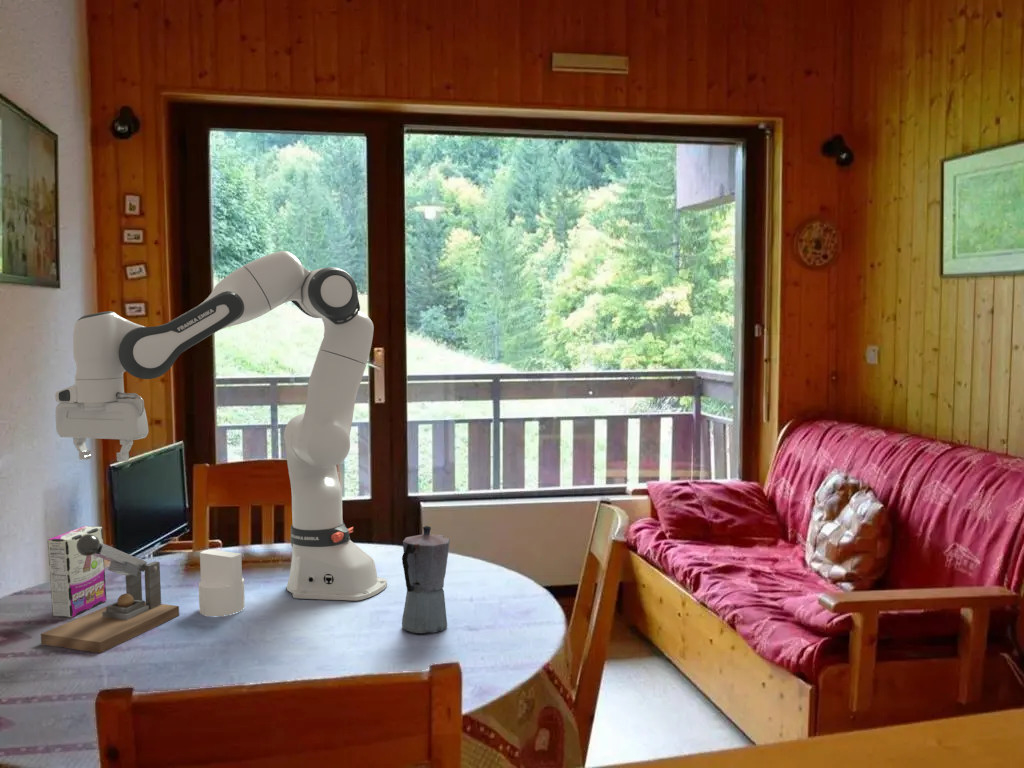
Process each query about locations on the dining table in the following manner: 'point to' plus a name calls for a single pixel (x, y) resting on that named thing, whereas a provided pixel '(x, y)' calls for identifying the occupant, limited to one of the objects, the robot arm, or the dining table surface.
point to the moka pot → (425, 582)
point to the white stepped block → (221, 583)
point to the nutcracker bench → (116, 618)
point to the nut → (125, 600)
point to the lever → (110, 556)
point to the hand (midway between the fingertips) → (104, 460)
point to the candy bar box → (75, 574)
